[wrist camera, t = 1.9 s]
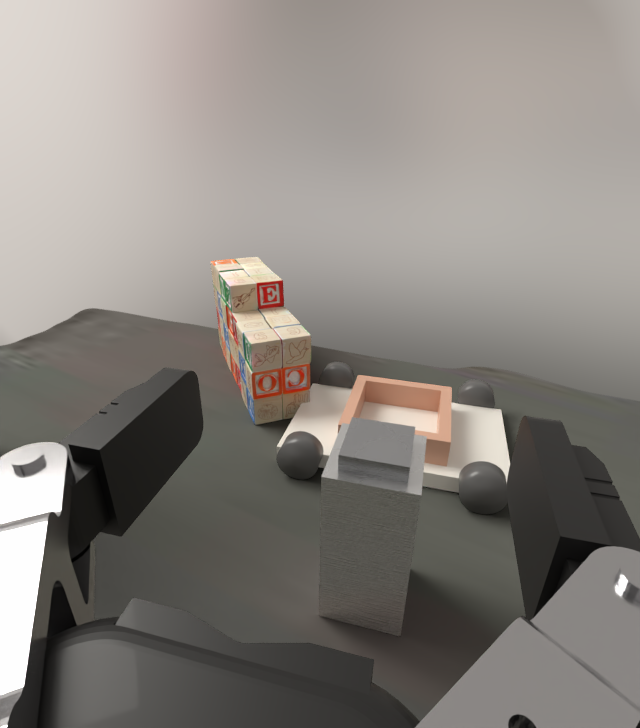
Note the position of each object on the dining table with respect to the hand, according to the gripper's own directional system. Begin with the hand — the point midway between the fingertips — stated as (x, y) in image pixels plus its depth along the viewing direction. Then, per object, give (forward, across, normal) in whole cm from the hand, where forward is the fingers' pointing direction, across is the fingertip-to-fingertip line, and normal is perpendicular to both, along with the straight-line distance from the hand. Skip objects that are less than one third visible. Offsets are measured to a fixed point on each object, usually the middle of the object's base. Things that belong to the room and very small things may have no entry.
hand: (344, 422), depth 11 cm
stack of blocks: (+37, +18, +20) cm, 46 cm away
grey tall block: (+11, 0, +20) cm, 23 cm away
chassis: (+28, 0, +20) cm, 34 cm away
